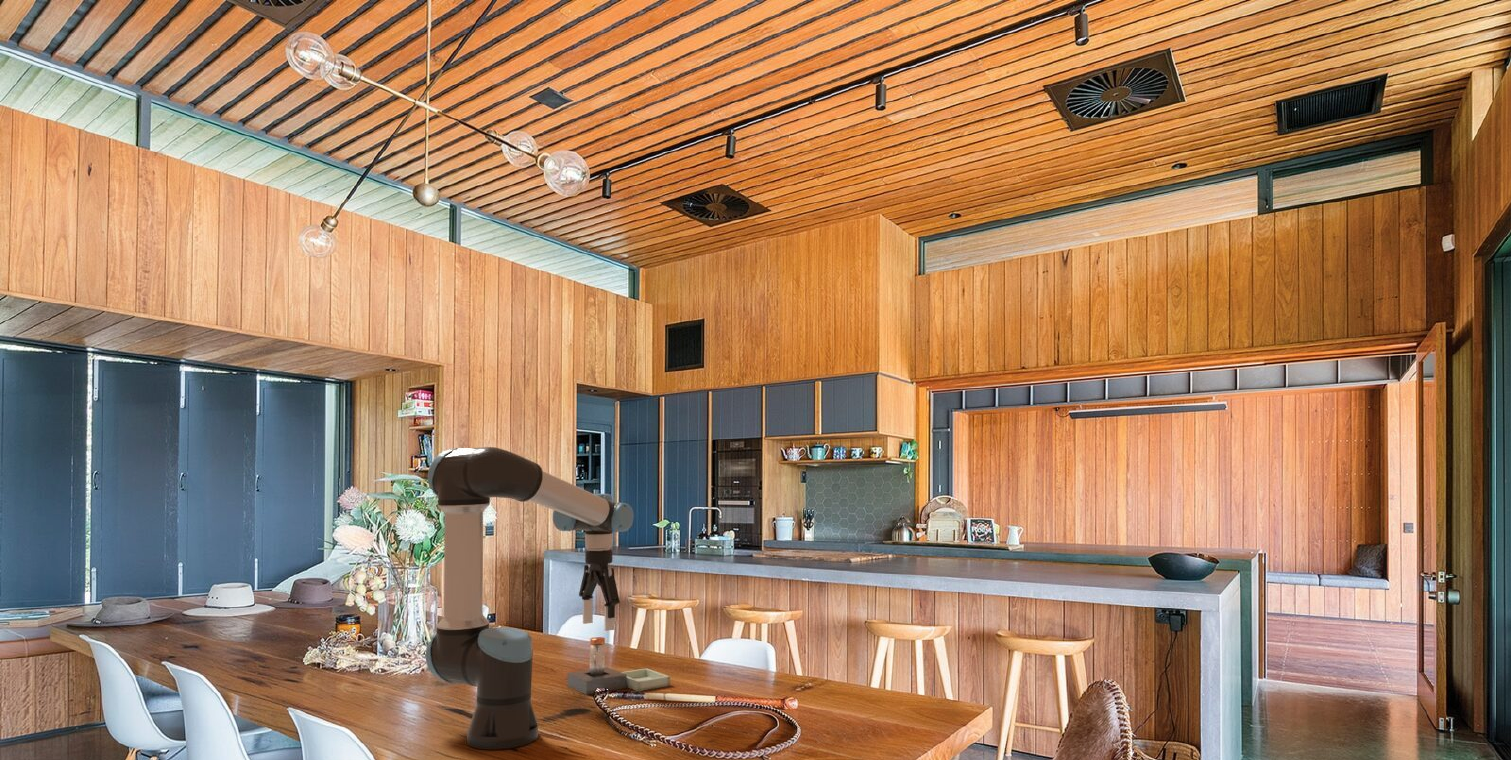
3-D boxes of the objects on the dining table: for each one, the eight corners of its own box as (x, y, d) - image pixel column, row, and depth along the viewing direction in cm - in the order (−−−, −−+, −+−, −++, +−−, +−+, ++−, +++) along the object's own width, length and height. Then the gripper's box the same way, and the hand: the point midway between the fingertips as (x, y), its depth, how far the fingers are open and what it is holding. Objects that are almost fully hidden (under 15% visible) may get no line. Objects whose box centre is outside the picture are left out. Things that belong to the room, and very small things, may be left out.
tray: (637, 691, 228) (638, 681, 228) (615, 682, 239) (615, 673, 239) (669, 685, 234) (669, 676, 234) (646, 677, 244) (646, 668, 245)
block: (586, 694, 225) (586, 680, 226) (567, 685, 235) (567, 672, 235) (626, 687, 232) (626, 674, 233) (606, 679, 242) (606, 666, 242)
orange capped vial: (593, 689, 231) (594, 640, 232) (587, 686, 234) (587, 638, 235) (606, 687, 233) (607, 638, 235) (600, 684, 236) (600, 636, 238)
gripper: (632, 551, 230) (631, 631, 228) (591, 545, 250) (591, 618, 248) (607, 553, 226) (606, 634, 223) (567, 547, 246) (567, 621, 243)
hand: (598, 626), depth 236 cm, fingers open, 13 cm apart
